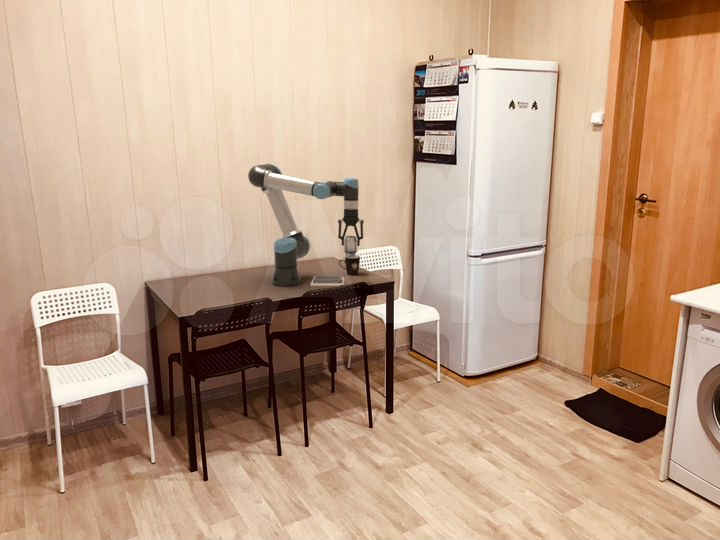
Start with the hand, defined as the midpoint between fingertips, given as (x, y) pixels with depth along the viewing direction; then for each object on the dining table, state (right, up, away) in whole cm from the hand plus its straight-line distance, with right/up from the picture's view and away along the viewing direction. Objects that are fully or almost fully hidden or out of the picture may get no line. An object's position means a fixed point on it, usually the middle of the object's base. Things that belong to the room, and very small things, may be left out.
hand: (350, 251), depth 303 cm
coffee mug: (-1, -12, +21) cm, 25 cm away
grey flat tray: (-12, -16, +3) cm, 20 cm away
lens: (0, -2, 0) cm, 2 cm away
